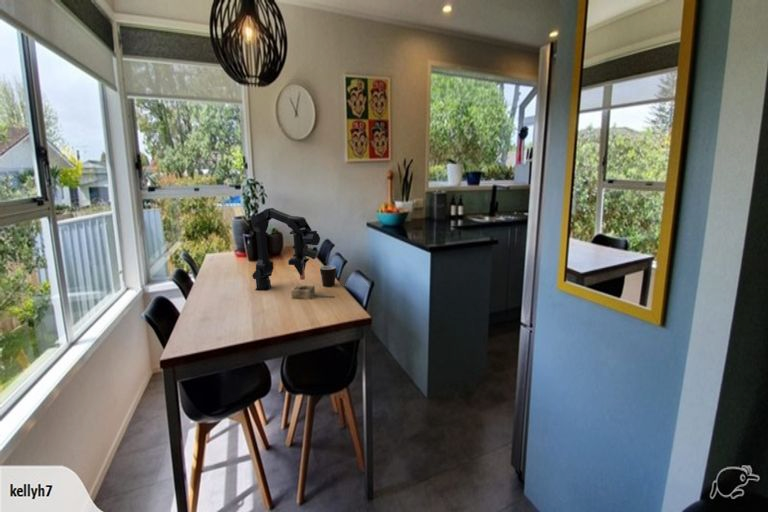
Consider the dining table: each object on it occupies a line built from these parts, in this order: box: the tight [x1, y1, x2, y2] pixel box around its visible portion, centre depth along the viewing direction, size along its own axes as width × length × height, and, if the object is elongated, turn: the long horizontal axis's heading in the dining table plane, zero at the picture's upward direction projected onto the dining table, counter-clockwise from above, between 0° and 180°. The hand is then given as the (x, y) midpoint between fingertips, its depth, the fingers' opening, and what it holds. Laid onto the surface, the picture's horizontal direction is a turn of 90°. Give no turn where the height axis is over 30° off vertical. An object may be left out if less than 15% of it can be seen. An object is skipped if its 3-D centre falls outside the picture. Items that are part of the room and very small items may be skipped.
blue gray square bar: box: [312, 294, 336, 299], centre depth 183 cm, size 11×1×1 cm, turn 76°
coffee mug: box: [319, 265, 337, 288], centre depth 201 cm, size 12×9×10 cm
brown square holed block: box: [291, 284, 316, 300], centre depth 184 cm, size 9×9×4 cm
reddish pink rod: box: [299, 265, 306, 281], centre depth 182 cm, size 2×2×9 cm
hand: (302, 274), depth 182 cm, fingers closed on reddish pink rod, 2 cm apart
